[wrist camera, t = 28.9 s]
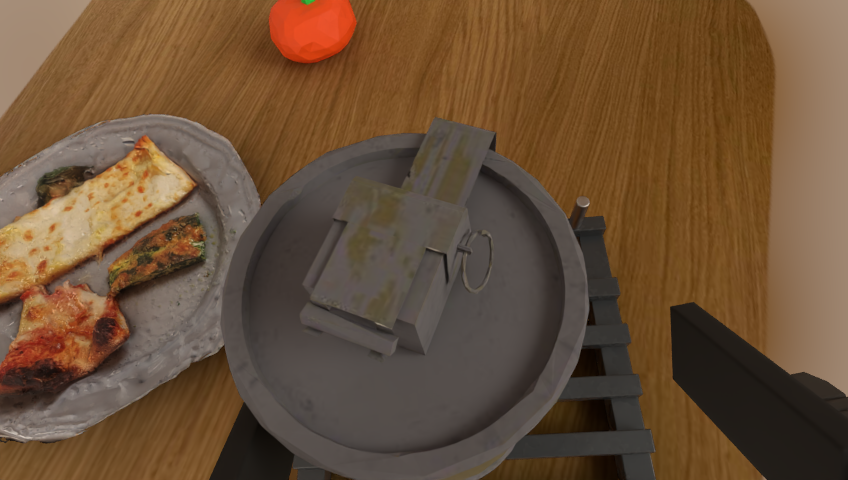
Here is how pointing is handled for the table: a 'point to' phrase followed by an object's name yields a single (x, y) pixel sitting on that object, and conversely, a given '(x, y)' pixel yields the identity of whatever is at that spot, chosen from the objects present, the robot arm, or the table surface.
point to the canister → (406, 307)
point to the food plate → (113, 268)
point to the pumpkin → (311, 28)
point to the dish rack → (611, 384)
